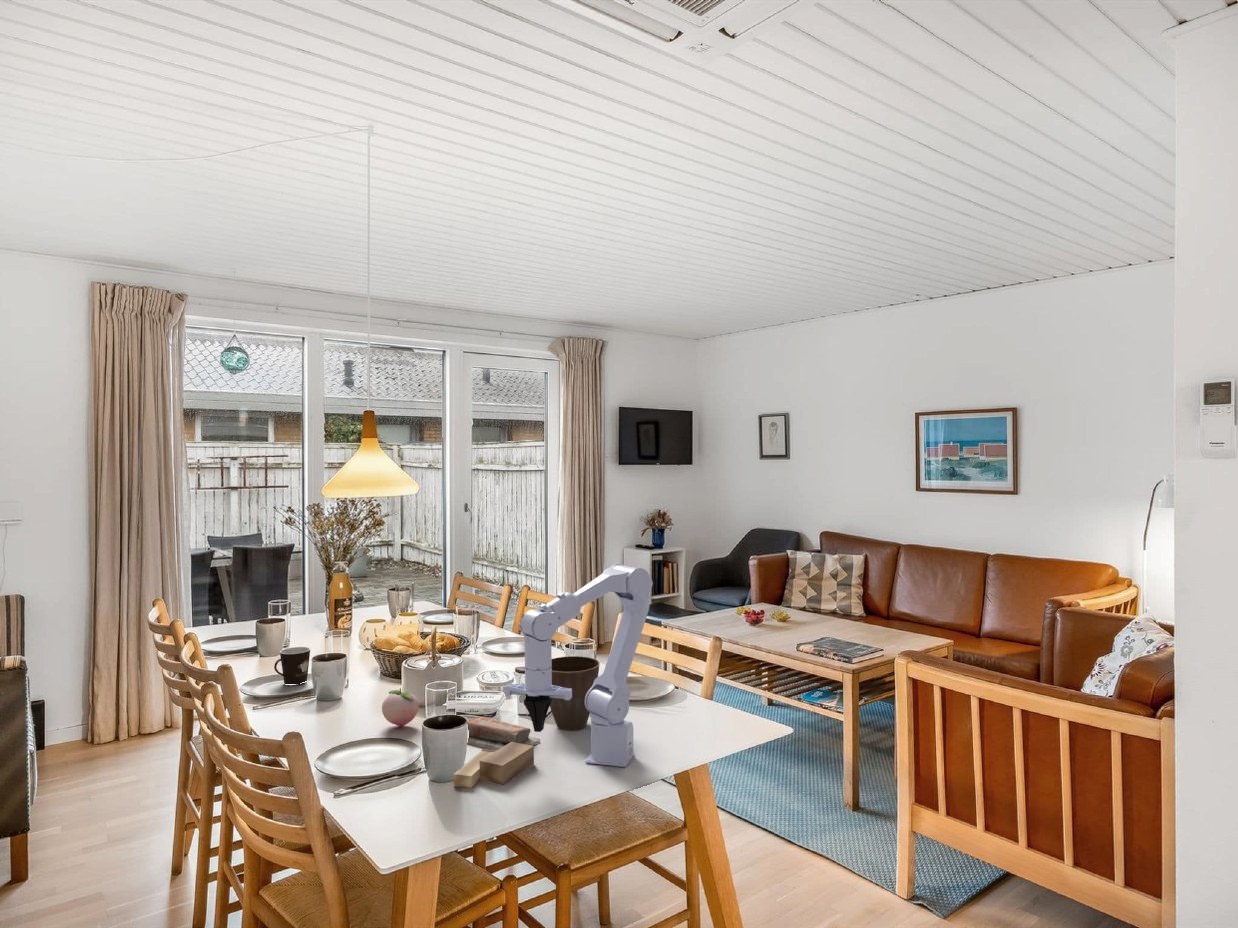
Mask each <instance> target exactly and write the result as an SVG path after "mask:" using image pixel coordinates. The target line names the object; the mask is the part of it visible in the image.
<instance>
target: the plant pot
mask: <svg viewBox="0 0 1238 928" xmlns="http://www.w3.org/2000/svg"><path fill="white" fill-rule="evenodd" d="M551 659H552V685H555V686H559V687H564V688H570V689H572V698H571V699H570V700H565V699H560V698H553V700H552V702H551V704H550V706H549V709H550V711H551V714H552V717H553V719H554V722H555V724H556V727H557V728H558V729H559V730H561V731H565V732H566V731H567V732H573V731H579V730H582V729H584V728H586V726H587V723H588V720H589V718H590V712H589V711H588V710H587V709H586V707H585V696H586V694H587V692H588V691H589V689H590V688H591V687H592V685H593V683H594V680H595V679H596V678H597V677H599V672H600V665H601V664H600V661H599V660H597V659H596V658H592V657H589V656H588V657H587V656H579V655H578V656H577V655H574V656H573V655H572V656H571V655H570V656H559V657H555V658H554V657H553V658H551Z"/></svg>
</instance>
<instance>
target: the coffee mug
mask: <svg viewBox="0 0 1238 928" xmlns="http://www.w3.org/2000/svg"><path fill="white" fill-rule="evenodd" d="M279 655H280V658H279V659H277V660H276V661H275V662H274V665H273V666H274V671H275V672H276V673H277V674H278V675H280V676H281V677H283V684H284V683H285V684H300V683H302V682H305V681H307V682H308V676H309V675H308V673H309V666H310V665H309V664H310V655H311V648H310V647H308V646H294V647H293V646H292V647H288V648H284V649H281V650H280V651H279ZM278 663H281V664H280V665H281V670H282V672H281V671H279V670H278V669H277V666H278Z"/></svg>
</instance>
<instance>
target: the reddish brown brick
mask: <svg viewBox="0 0 1238 928" xmlns="http://www.w3.org/2000/svg"><path fill="white" fill-rule="evenodd" d="M466 722H467V724H468V730H469V738H468V745H472V746H475V747H479V748H482V749H489V750H498V749H500V748H502V747H504V746H505V745H507V744H509V743H510V742H515V743H520V744H526V745H531V746H534V747H535V745H537V744H539V743H540V742H541V738H538V737H537V738H536V737H534V736H530V733H531V732H532V730H531V728H529V727H524V726H521V725H517V724H514V723H508V722H505V721H500V720H498V719H493V718H489V717H486V716H485V717H484V716H476V717H475V718H471V719H470V720H468V721H466Z"/></svg>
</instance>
